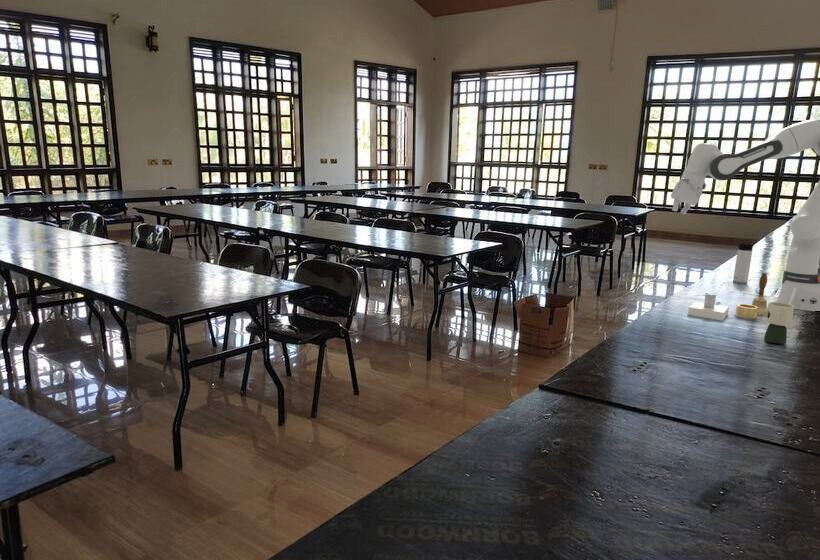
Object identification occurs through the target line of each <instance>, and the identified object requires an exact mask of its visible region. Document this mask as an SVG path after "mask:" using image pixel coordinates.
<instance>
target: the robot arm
mask: <svg viewBox="0 0 820 560" xmlns="http://www.w3.org/2000/svg"><path fill="white" fill-rule="evenodd" d="M809 149H810V150H811V151H812V152H813V154H815V155H817V156H819V157H820V121H819V120H817V119H808V120H804V121H801V122H797V123H794V124H792V125H789V126H787V127H784V128H781V129H780V130H777V131H775V132H773V133H772V134H771V135H769V136H768V137H766V138H765V139H764V141H762V142H761V143H759V144H758V145H756V146H753V147H751V148H748V149H746V150H743V151H741V152H738V153H730V154H729V153H728V154H727V153H726V154H725V153H724V152H722V151H721V150H720V149H719V148H718V146H717V145H716V144H713V143H709V142H708V143H707V142H706V143H705V142H704V143H702V142H700V143H699V144H697V145H695V147H694V148H693V150H692V152H691V153H690V156H689V158H688V161H687V166H686V167H685V169H684V170H683V172H682V175H681V177H680V180H678V181H677V182H676V184H675V186H674V188H673V190H672V192H671V194H670V198H671V199H674V200H673V204H672V205H673V206H672V208H671V211H674V212H677V211H678V210H679V204H680V203H684V207H683V208H682V209H681V211H680V214H683V215H686V214H687V212H688V211H689V209H690V208H691V206H694V207H695V206H696V205H697V203H699V200H700V198H701V196H702V194H703V191H705V190H706V187H707V184H706V182H705V181H706V180H705V179H706V177H707V176H709V177H711V178H712V179H714V180H716V181H728V180H731V179H733V178H734V177H735V176H737V174H739V173H740V172H741V170H744V169H745V168H748V167H750V166H753V165H755V164H757V163H760V162H762V161H766V160H770V159H771V160H772V159H773V160H775V159H776V160H777V159H778V160H779V159H783V158H787V157H791V156H792V155H795V154H796V155H797V154H798V153H800V152H802V151H805V150H809ZM790 232H791V233H792V235H793V236H792V240H791V243H790V246H789V250H788V252H787V259H786V265H785V269H784V271H783V274H782V280H781V284H782V285H781V288H780V291H779V294H778V296H777V297H776V299H775V301H774V302H780V303H786V304H790V305H793V306H794V310H798V309H799V310H800V311H808V312H815V311H820V274H818V268H819V266H820V265H819V264H820V179H819V181H817V184H816V185H815V187H814V188H813V190H812V192H811V193H810V195H809V196H808V198H807V199H806V201H805V202H804V204H803V205H802V207H801V208H800V209H799V210H798V212H797V213H796V215H795V217H794V218H793V220H792V221H791V224H790Z"/></svg>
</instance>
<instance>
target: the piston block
mask: <svg viewBox="0 0 820 560" xmlns="http://www.w3.org/2000/svg"><path fill="white" fill-rule="evenodd" d="M716 299H717V294H714V293H711V292H710V293H709V292H708V293H705V296H704V302H699V301H694V302H693V303H692V304H691V305H689V307H688V311H687V312H688V313H687V315H688V316H693V317H698V318H704V319H705V318H706V319H710V320H711V319H712V320H717V321H721V322H722V321H724V320H725V319H726V317H727V316H728V314H729V310H730V308H729V307H730V306H726V305H725V306H724V305H719V304H716Z"/></svg>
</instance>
